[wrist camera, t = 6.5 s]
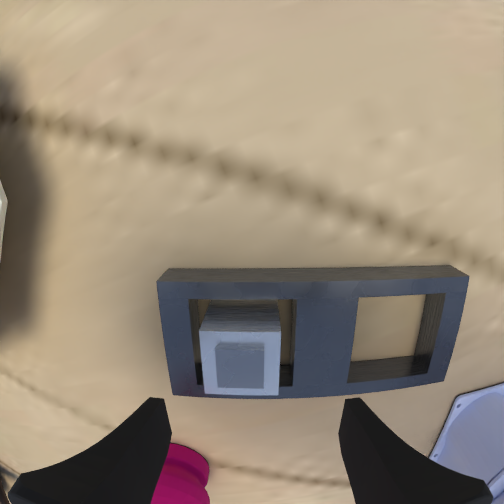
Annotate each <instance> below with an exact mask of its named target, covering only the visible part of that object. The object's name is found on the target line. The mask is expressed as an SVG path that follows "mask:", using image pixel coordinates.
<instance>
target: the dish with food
mask: <svg viewBox="0 0 504 504" xmlns="http://www.w3.org/2000/svg"><path fill="white" fill-rule="evenodd" d="M7 204H8V200H7V197H6V195H5V192H4V189H3V186H2V183H1V181H0V261H1V250H2V240H3V231H4V223H5V216H6V210H7Z"/></svg>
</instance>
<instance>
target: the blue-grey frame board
mask: <svg viewBox="0 0 504 504" xmlns="http://www.w3.org/2000/svg"><path fill="white" fill-rule="evenodd" d="M468 282H469V276H468V275H466V274H465V273H463V272H461V271H460V270H458V269H456V268H454V267H452V266H451V265H447V266H409V267H360V268H277V269H168V270H167V271H166V272H165V273H164V274H163V275H162V276H161V277H160V278H159V279H158V280H157V291H158V299H159V308H160V316H161V323H162V331H163V338H164V345H165V351H166V358H167V364H168V370H169V376H170V382H171V387H172V393H173V395H179V396H192V397H209V398H236V399H283V398H310V397H327V396H340V395H352V394H362V393H371V392H379V391H387V390H394V389H401V388H408V387H414V386H420V385H426V384H431V383H437V382H442V381H444V379H445V375H446V372H447V369H448V366H449V363H450V359H451V356H452V352H453V349H454V345H455V341H456V337H457V334H458V330H459V325H460V321H461V317H462V312H463V308H464V303H465V298H466V293H467V287H468ZM419 294H426V300H425V306H424V312H423V317H422V322H421V327H420V332H419V337H418V341H417V346H416V350H415V354H414V356H407V357H399V358H390V359H380V360H370V361H358V362H350V360H351V354H352V347H353V339H354V332H355V324H356V316H357V307H358V297H381V296H401V295H419ZM198 299H246V300H250V299H293V301H292V328H291V351H290V365H280V370H279V391H278V395H223V394H205V390H204V380H203V370H202V360H201V349H200V337H199V329H200V324H199V312H198Z"/></svg>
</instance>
